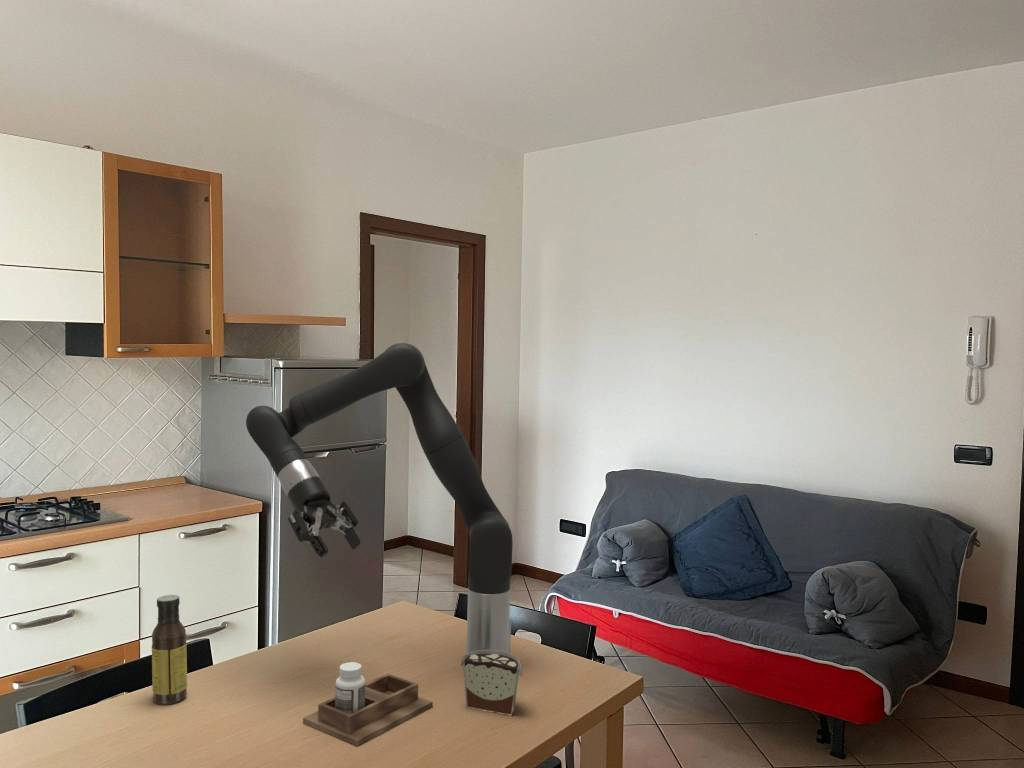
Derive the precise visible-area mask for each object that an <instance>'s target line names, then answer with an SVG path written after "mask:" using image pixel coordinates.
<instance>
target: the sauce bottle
mask: <svg viewBox="0 0 1024 768" xmlns="http://www.w3.org/2000/svg"><path fill="white" fill-rule="evenodd" d="M180 604H181V602H180V596H179V595H177V594H167V595H163V596H159V597H157V599H156V607H157V624H156V626H155V628H154V629H153V630H152V633H151V642H152V643H151V667H152V668H151V674H152V675H151V677H152V681H151V682H152V683H151V684H152V687H151V688H152V693H153V696H152V699H153V702H155V703H156V704H157V705H161V706H162V705H174V704H177V703H178V702H180V701H183V700H184V699H185V698H186V697H187V695H188V691H187V690H188V689H187V687H188V665H187V664H188V663H187V662H188V661H187V658H188V655H187V651H188V650H187V639H186V638H187V637H186V636H187V635H186V634H187V632H186V627H185V626H184V625H183V624H182V622H181V621H180V612H179V611H180V609H179V608H180Z"/></svg>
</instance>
